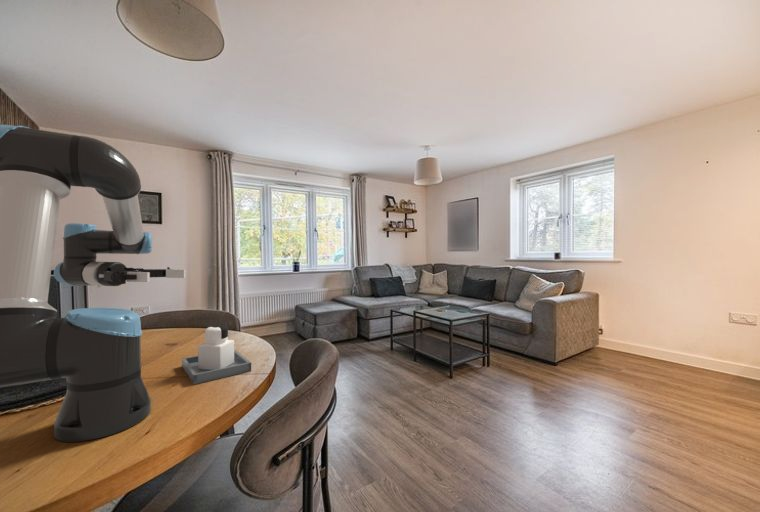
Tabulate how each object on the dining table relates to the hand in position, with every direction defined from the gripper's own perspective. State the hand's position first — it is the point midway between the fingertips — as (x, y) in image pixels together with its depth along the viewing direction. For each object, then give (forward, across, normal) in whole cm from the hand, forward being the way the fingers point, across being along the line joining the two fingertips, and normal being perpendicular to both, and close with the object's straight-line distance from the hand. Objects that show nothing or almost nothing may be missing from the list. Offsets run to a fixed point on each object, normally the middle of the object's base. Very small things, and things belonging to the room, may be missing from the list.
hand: (168, 275), depth 95 cm
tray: (+15, -1, -28) cm, 32 cm away
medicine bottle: (+15, -1, -27) cm, 31 cm away
